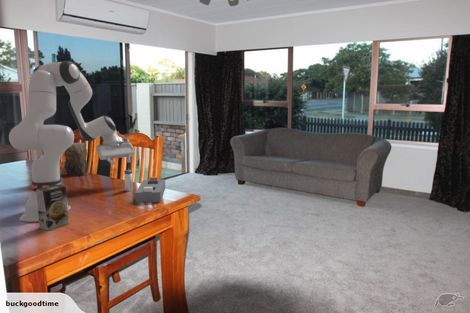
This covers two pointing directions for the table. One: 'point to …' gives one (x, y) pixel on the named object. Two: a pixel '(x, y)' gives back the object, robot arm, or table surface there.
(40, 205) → the coffee box
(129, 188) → the plug
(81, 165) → the owl
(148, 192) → the socket block
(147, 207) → the table surface
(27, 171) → the table surface
